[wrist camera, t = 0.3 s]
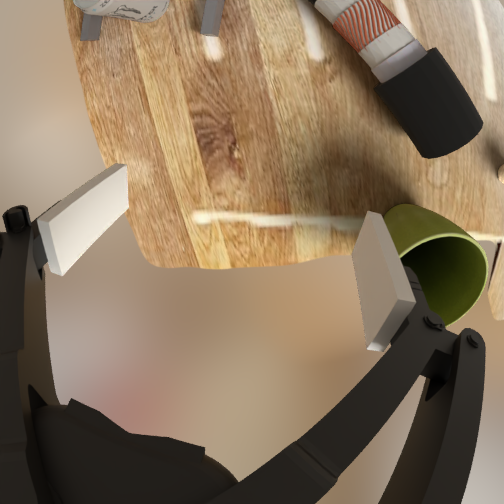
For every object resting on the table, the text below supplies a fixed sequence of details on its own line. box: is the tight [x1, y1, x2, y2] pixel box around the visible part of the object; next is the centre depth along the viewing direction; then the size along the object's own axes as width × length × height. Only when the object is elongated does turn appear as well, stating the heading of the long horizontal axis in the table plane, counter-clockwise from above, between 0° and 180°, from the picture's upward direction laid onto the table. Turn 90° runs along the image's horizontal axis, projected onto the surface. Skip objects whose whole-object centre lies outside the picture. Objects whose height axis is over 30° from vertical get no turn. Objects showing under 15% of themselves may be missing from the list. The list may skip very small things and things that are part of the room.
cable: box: [308, 0, 483, 159], centre depth 25 cm, size 10×34×10 cm, turn 41°
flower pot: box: [383, 204, 488, 327], centre depth 36 cm, size 15×15×16 cm
